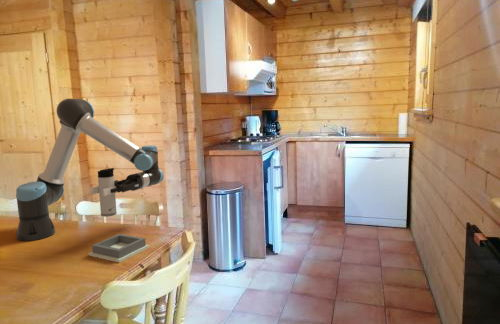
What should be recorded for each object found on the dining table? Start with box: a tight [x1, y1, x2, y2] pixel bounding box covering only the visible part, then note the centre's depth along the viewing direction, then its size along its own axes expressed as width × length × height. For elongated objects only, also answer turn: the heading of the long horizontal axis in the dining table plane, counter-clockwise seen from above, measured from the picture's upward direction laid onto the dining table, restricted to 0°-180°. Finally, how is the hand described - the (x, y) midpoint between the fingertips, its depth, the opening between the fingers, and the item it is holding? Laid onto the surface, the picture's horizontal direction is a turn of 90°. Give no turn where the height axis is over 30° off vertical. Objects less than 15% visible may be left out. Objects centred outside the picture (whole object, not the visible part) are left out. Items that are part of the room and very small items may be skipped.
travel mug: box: [97, 167, 117, 217], centre depth 157 cm, size 6×7×20 cm
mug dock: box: [88, 233, 150, 264], centre depth 146 cm, size 16×16×4 cm
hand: (97, 192), depth 153 cm, fingers closed on travel mug, 6 cm apart
